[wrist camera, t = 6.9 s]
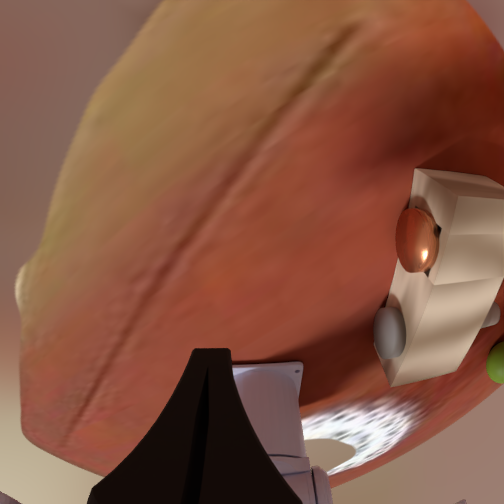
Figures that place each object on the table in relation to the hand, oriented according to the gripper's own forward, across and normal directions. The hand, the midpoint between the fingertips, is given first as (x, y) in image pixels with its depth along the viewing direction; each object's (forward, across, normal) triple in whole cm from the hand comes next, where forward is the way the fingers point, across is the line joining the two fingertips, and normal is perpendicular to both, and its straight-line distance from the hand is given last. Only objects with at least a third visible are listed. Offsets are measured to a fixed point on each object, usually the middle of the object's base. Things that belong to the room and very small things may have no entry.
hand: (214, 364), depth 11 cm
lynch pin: (+9, -18, -1) cm, 20 cm away
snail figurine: (+10, -33, +17) cm, 38 cm away
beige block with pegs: (+10, -18, +3) cm, 21 cm away
